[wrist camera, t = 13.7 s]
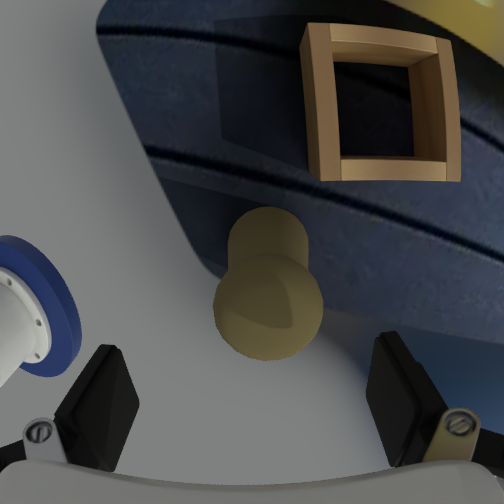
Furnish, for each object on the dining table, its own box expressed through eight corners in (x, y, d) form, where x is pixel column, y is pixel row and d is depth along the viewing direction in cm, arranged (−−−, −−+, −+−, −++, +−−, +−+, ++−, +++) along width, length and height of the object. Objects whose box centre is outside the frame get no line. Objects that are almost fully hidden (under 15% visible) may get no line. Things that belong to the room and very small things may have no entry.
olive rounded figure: (325, 243, 23) (365, 321, 13) (271, 298, 25) (271, 397, 15) (264, 189, 22) (262, 231, 12) (211, 249, 24) (171, 329, 14)
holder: (308, 172, 22) (320, 181, 17) (299, 46, 19) (307, 22, 14) (426, 172, 21) (461, 181, 16) (418, 55, 18) (450, 40, 13)
